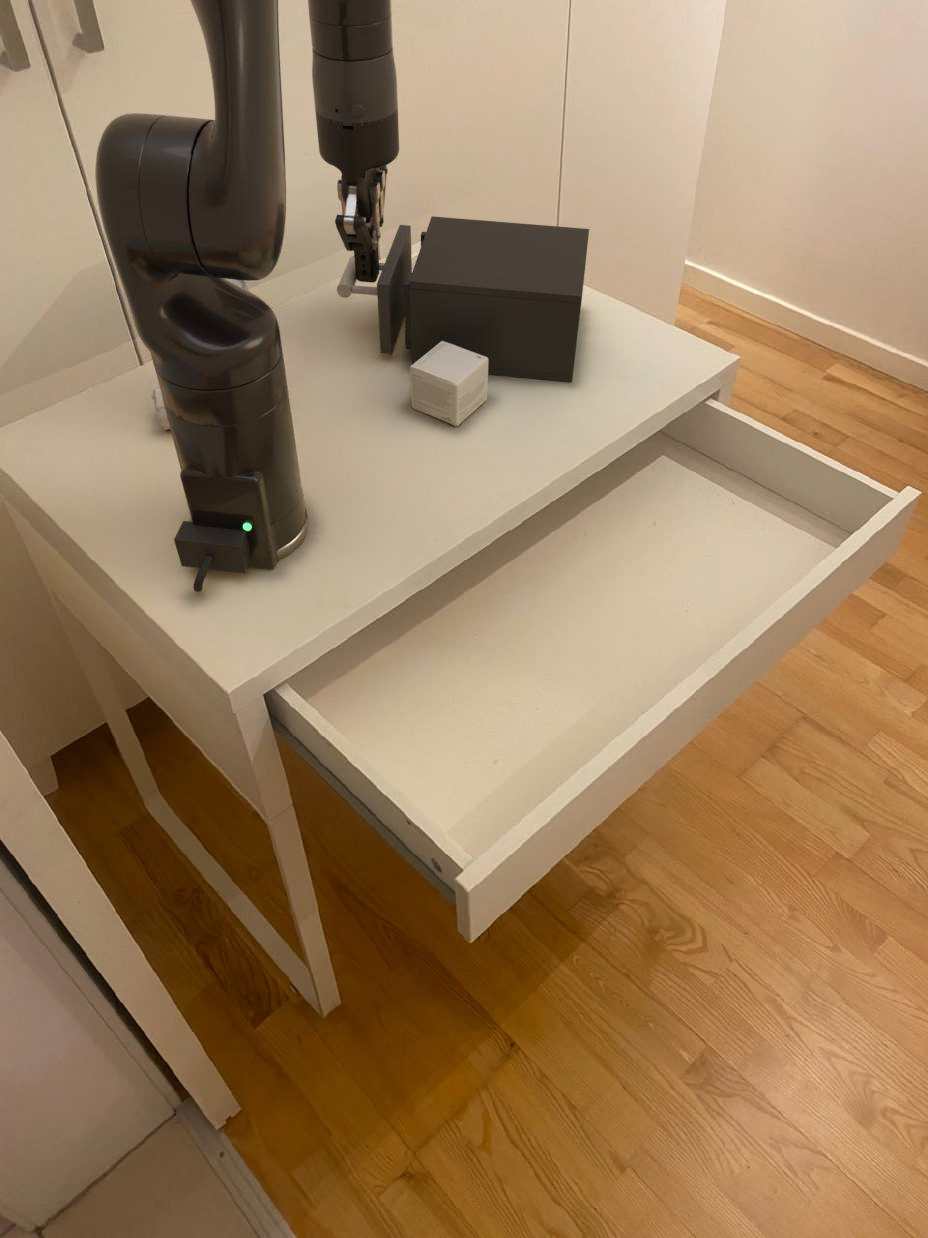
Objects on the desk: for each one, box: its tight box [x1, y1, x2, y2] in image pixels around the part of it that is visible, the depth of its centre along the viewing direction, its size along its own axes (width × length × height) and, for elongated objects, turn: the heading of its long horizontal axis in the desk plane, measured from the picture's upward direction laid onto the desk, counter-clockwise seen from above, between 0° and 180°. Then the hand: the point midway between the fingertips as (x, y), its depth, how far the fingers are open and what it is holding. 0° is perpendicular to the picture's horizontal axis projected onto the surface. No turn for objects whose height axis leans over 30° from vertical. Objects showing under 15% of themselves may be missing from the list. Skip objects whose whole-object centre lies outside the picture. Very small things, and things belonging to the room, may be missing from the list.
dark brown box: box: [409, 215, 590, 383], centre depth 99 cm, size 17×14×10 cm
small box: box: [409, 341, 489, 427], centre depth 93 cm, size 6×6×5 cm
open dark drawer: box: [336, 224, 426, 355], centre depth 100 cm, size 20×12×8 cm, turn 82°
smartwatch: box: [151, 387, 171, 431], centre depth 90 cm, size 4×2×4 cm, turn 16°
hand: (367, 278), depth 100 cm, fingers closed
